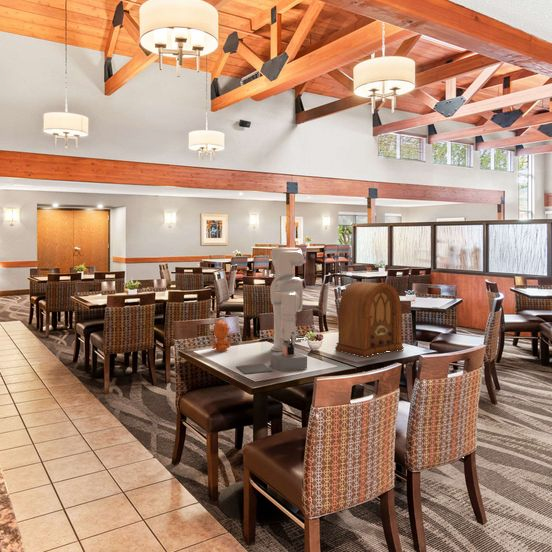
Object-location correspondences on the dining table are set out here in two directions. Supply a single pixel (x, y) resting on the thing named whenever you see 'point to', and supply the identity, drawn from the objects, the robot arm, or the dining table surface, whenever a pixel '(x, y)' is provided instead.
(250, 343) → the dining table surface
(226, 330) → the toy dinosaur
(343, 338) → the radio
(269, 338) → the clipboard
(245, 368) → the mat
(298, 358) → the grey square base
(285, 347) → the peach cylinder
